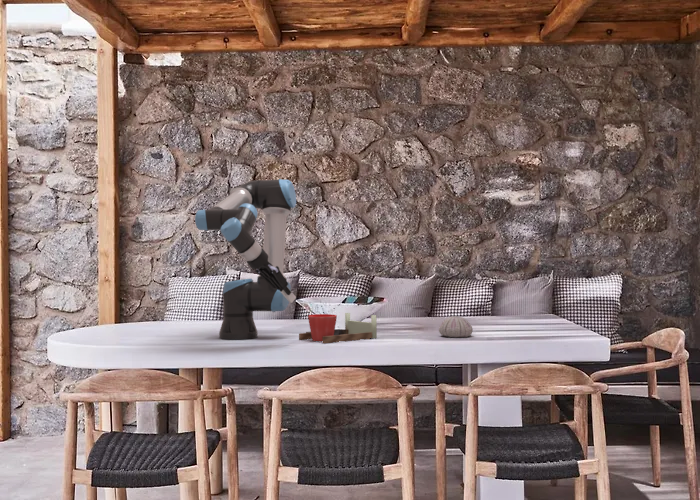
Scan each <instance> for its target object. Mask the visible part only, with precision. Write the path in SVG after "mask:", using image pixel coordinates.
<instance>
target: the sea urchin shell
mask: <svg viewBox="0 0 700 500" xmlns="http://www.w3.org/2000/svg"><path fill="white" fill-rule="evenodd" d="M473 329H474V328H473V326H472V324H471V323H470V322H469V321H468V320H467V319H466V318H465V317H463V316H455V315H453V316H449V317H447V318H445V319H444V320H443V321H441V323H440V325H439V327H438V333H439V334H440V335H441V336H443V337H447V338H454V339H455V338H456V339H457V338H467V337H470V336H471V335H472V334H473Z"/></svg>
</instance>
